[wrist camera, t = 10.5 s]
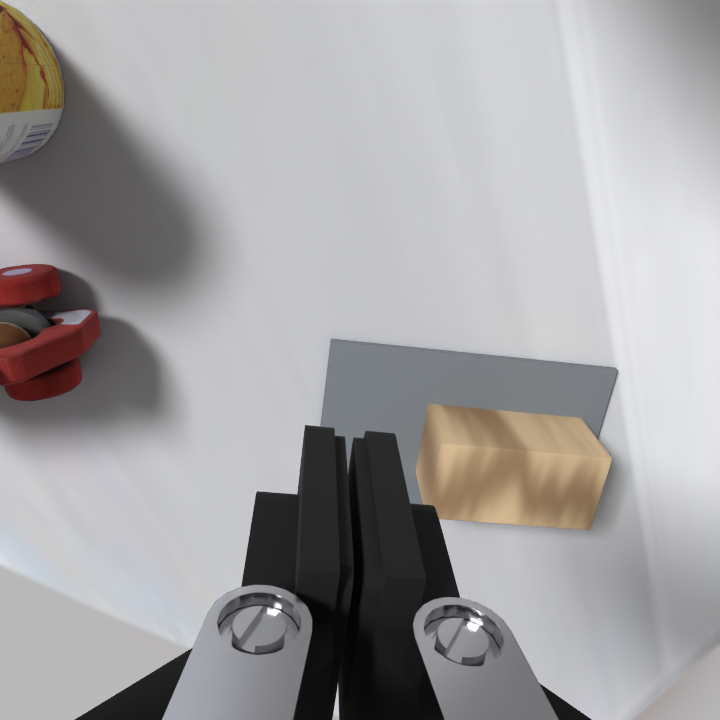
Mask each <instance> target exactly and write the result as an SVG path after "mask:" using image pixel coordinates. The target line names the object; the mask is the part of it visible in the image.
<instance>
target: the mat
mask: <svg viewBox="0 0 720 720" xmlns="http://www.w3.org/2000/svg"><path fill="white" fill-rule="evenodd" d="M617 371H618V370H617V369H616V368H612V367H602V366H593V365H583V364H573V363H563V362H553V361H543V360H534V359H524V358H514V357H504V356H494V355H484V354H475V353H465V352H455V351H445V350H435V349H425V348H416V347H406V346H396V345H386V344H376V343H366V342H357V341H347V340H337V339H331V343H330V351H329V360H328V368H327V376H326V385H325V393H324V401H323V410H322V418H321V426H320V427H330V428H334V429H335V436H345V441H346V455H347V470H349V463H350V456H351V449H352V442H353V438H354V437H356V438H364V434H365V431H375V432H386V433H395V435H396V439H397V444H398V449H399V453H400V458H401V463H402V467H403V472H404V477H405V482H406V486H407V491H408V496H409V500H410V503H411V504H423V501H422V497H421V493H420V488H419V484H418V480H417V476H416V466H417V461H418V455H419V450H420V445H421V439H422V434H423V429H424V423H425V418H426V413H427V407H428V404H438V405H449V406H459V407H470V408H481V409H491V410H502V411H513V412H523V413H534V414H545V415H556V416H566V417H577V418H581V419H582V420H583V421H584V423H585V424H586V425H587V426H588V428H589V429H590V430H591V432H592V433H593V434H594V435H595V437H596V438H598V435H599V431H600V428H601V425H602V421H603V418H604V415H605V411H606V408H607V405H608V401H609V398H610V395H611V391H612V388H613V385H614V381H615V378H616V375H617Z"/></svg>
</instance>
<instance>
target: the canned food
mask: <svg viewBox="0 0 720 720" xmlns="http://www.w3.org/2000/svg"><path fill="white" fill-rule="evenodd" d="M64 93H65V87H64V82H63V77H62V72H61V67H60V64H59V62H58V60H57V58H56V56H55V53H54V51H53V49H52V47H51V45H50V43H49V42H48V41H47V39H46V38H45V37H44V35H43V34H42V33H41V31H40V30H39V29H38V27H37V26H36V25H35V24H34V23H33V22H31V21H30V20H29V19H28V18H27V17H26V16H24V15H23V14H22V13H21V12H20V11H19V10H17V9H16V8H14V7H12V6H10V5H8V4H6V3H4V2H2V1H0V164H1V163H5V162H9V161H13V160H16V159H19V158H22V157H25V156H28V155H31V154H32V153H34V152H35V151H36V150H38V149H39V148H41V147H42V146H43V145H45V144H46V143H47V142H48V140H49V139H50V137H51V136H52V135H53V133H54V132H55V131H56V129H57V127H58V125H59V122H60V119H61V116H62V113H63V110H64Z"/></svg>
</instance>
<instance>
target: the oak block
mask: <svg viewBox="0 0 720 720" xmlns="http://www.w3.org/2000/svg"><path fill="white" fill-rule="evenodd" d="M611 461H612V457H611V456H610V455H609V453H608V452H607V451H606V450H605V448H604V447H603V446H602V444H601V443H600V442H599V441H598V439H597V438H596V437H595V435H594V434H593V433H592V432H591V430H590V429H589V428H588V426H587V425H586V424H585V423H584V421H583V420H582V419H581V418H577V417H566V416H556V415H545V414H534V413H523V412H513V411H502V410H491V409H481V408H470V407H459V406H449V405H438V404H428V407H427V413H426V418H425V423H424V429H423V434H422V439H421V445H420V450H419V455H418V461H417V466H416V476H417V480H418V484H419V488H420V493H421V497H422V501H423V504H424V505H433V506H434V507H435V509H436V511H437V514H438V518H439V519H450V520H463V521H476V522H489V523H502V524H515V525H529V526H542V527H555V528H568V529H581V530H590V528H591V525H592V522H593V518H594V515H595V512H596V509H597V506H598V503H599V499H600V496H601V493H602V490H603V487H604V483H605V480H606V477H607V474H608V471H609V467H610V464H611Z"/></svg>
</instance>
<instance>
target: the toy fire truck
mask: <svg viewBox="0 0 720 720" xmlns="http://www.w3.org/2000/svg"><path fill="white" fill-rule="evenodd" d="M61 290H62V285H61V282H60V278H59V273H58V271H57V269H56V268H55V267H54V266H51V265H45V264H31V265H21V266H14V267H7V268H3V269H0V385H4V387H5V391H6V393H7V394H8V395H9V396H10V397H11V398H13V399H16V400H21V401H36V400H42V399H46V398H51V397H55V396H58V395H61V394H64V393H66V392H69V391H70V390H72V389H74V388H75V387H76V386H78V385H79V384H80V382H81V380H82V372H81V367H80V363H79V360H78V358H77V357H78V356H80V355H82V354H84V353H85V352H86V351H87V350H88V348H90V347H91V345H92V344H93V343H94V342H95V341H96V340H97V339H98V338H99V337H100V335H101V330H100V324H99V318H98V313H97V312H96V311H94V310H91V309H78V310H65V311H51V312H49V311H39V310H38V311H37V307H36V303H39V302H42V301H45V300H48V299H51V298H54V297H56V296H58V295H59V294H60V293H61Z"/></svg>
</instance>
